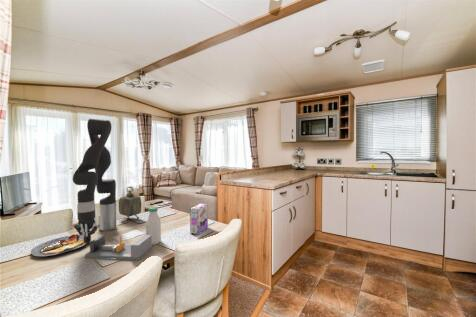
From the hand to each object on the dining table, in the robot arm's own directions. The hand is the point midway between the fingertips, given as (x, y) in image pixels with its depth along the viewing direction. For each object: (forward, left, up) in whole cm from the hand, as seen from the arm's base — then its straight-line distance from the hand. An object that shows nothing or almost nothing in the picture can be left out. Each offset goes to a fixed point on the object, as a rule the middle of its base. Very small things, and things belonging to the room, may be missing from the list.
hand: (87, 242), depth 110 cm
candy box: (+50, +34, -5) cm, 61 cm away
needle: (+18, 0, -3) cm, 19 cm away
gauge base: (+18, 0, -5) cm, 19 cm away
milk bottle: (+29, +14, -5) cm, 32 cm away
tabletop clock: (-9, +50, -5) cm, 51 cm away
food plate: (-17, +3, -5) cm, 18 cm away
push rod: (+11, 0, -3) cm, 11 cm away
